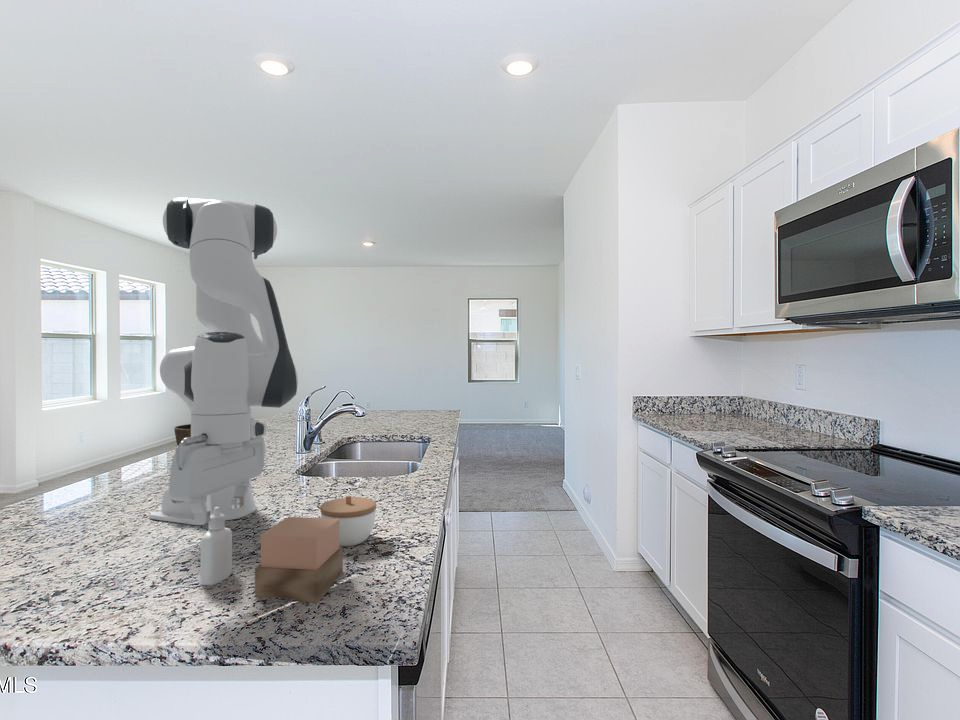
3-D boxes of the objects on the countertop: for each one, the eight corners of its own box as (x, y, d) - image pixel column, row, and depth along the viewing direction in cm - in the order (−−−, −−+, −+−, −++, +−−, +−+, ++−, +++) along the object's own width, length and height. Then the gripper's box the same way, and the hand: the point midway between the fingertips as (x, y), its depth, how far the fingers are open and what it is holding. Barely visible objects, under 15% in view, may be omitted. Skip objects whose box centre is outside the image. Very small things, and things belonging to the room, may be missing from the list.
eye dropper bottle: (193, 581, 87) (193, 509, 87) (226, 571, 92) (226, 501, 91) (205, 589, 84) (205, 514, 84) (239, 577, 89) (239, 506, 89)
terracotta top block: (260, 566, 82) (260, 534, 82) (288, 545, 91) (288, 516, 91) (316, 569, 81) (316, 537, 81) (339, 548, 90) (339, 519, 90)
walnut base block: (255, 600, 81) (255, 568, 81) (286, 573, 91) (286, 544, 91) (317, 604, 80) (317, 571, 80) (342, 577, 90) (342, 547, 90)
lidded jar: (347, 557, 98) (347, 506, 98) (308, 546, 104) (308, 498, 104) (387, 540, 107) (387, 494, 107) (349, 530, 113) (349, 486, 113)
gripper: (197, 439, 76) (196, 536, 76) (271, 424, 97) (271, 500, 96) (157, 438, 77) (156, 534, 77) (239, 423, 97) (238, 499, 97)
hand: (221, 515), depth 87 cm, fingers open, 8 cm apart
